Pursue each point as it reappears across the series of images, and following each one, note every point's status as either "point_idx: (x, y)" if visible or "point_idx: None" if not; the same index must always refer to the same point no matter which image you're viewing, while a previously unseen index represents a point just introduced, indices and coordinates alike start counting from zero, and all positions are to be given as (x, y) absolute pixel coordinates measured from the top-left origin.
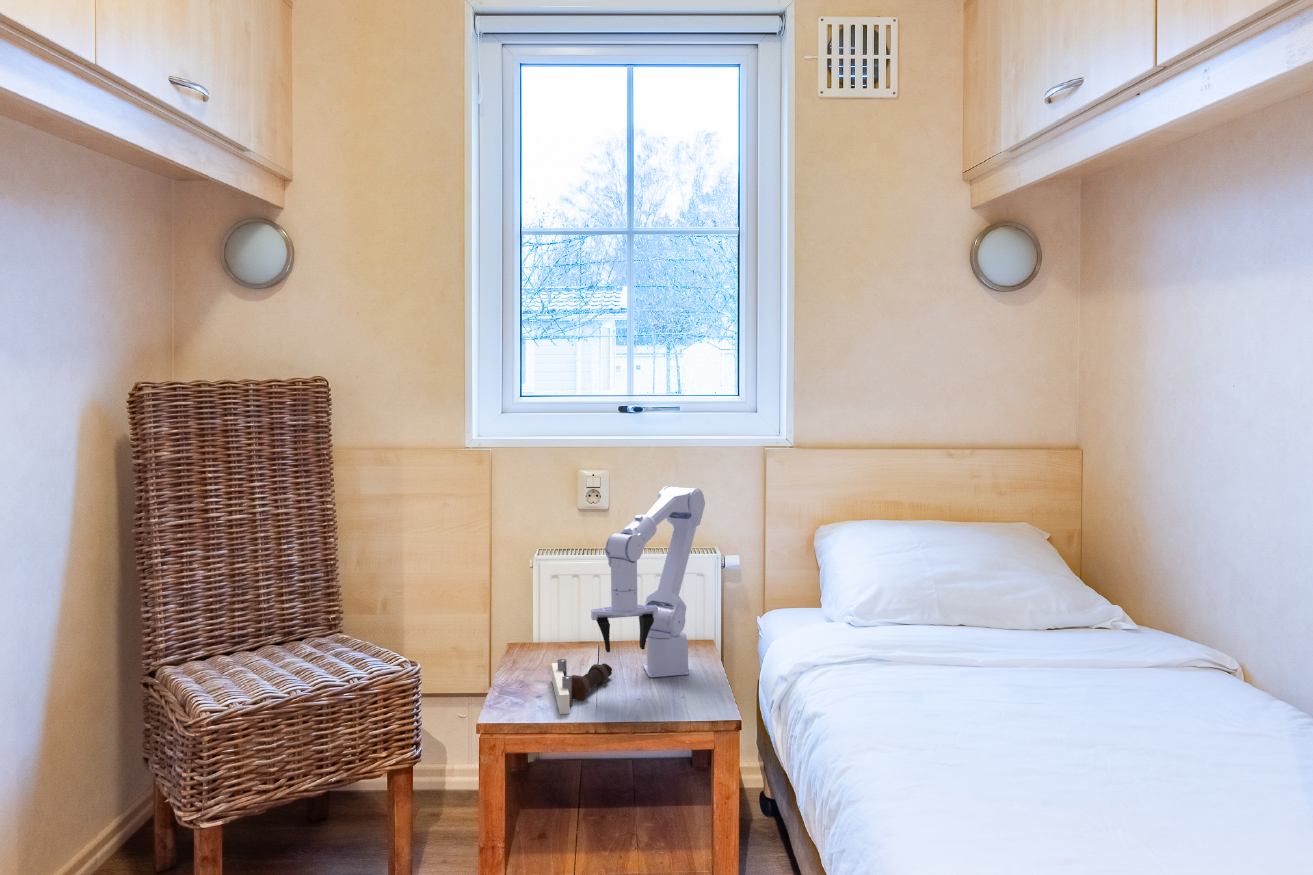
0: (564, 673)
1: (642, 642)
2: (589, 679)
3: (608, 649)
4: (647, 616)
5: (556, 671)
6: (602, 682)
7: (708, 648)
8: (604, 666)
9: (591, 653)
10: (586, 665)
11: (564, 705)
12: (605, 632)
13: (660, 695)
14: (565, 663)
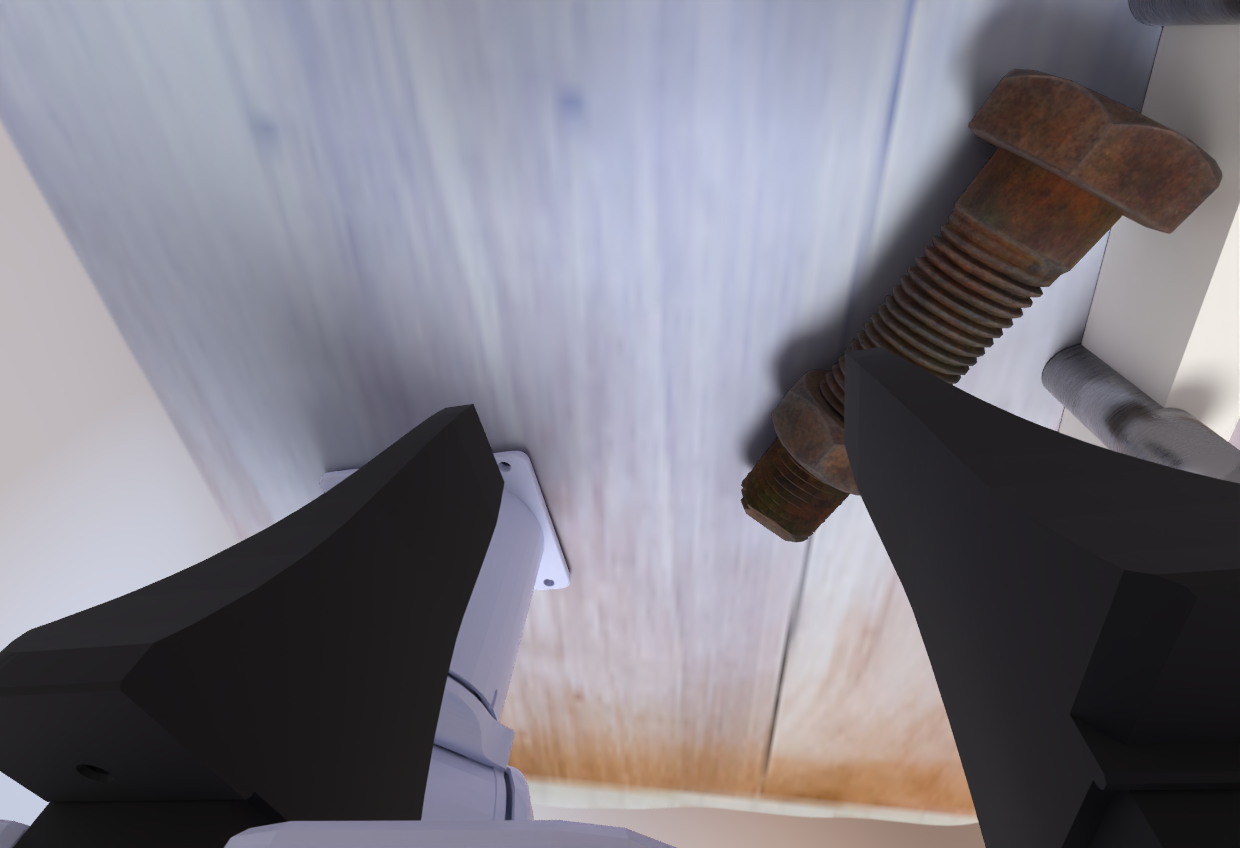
0: (1129, 398)
1: (430, 437)
2: (960, 270)
3: (877, 355)
4: (134, 814)
5: (1223, 394)
6: (812, 373)
7: None
8: (809, 464)
9: (806, 718)
10: (852, 618)
11: None
12: (1077, 469)
13: (423, 171)
14: (1169, 448)
